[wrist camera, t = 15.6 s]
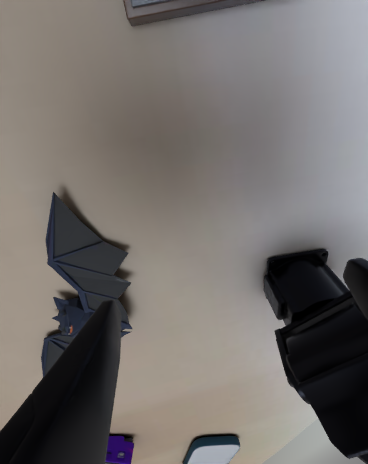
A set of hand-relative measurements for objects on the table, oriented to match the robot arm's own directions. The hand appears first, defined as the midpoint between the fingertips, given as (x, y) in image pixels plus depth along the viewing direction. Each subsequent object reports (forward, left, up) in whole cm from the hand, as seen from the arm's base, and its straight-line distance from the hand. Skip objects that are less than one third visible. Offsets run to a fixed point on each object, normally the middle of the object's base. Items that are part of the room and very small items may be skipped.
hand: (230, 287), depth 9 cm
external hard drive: (+6, +74, -13) cm, 76 cm away
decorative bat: (+14, +14, -13) cm, 24 cm away
